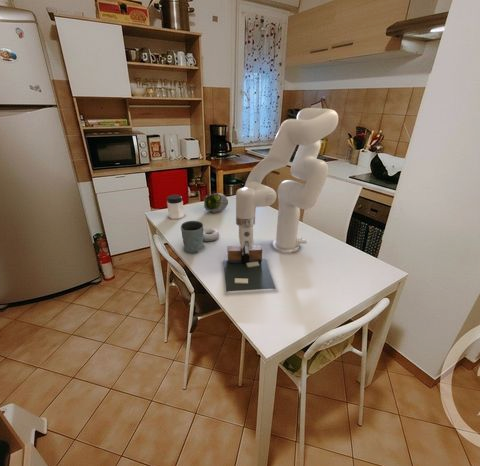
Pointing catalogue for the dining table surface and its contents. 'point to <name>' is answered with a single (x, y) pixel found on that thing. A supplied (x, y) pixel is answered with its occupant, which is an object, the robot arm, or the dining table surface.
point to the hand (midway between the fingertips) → (244, 258)
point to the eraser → (236, 254)
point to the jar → (175, 206)
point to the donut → (210, 234)
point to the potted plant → (215, 202)
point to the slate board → (248, 276)
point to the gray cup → (192, 236)
